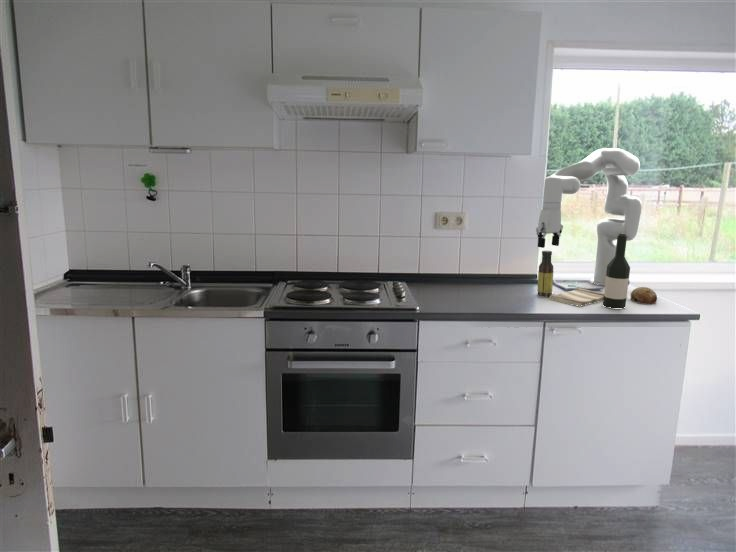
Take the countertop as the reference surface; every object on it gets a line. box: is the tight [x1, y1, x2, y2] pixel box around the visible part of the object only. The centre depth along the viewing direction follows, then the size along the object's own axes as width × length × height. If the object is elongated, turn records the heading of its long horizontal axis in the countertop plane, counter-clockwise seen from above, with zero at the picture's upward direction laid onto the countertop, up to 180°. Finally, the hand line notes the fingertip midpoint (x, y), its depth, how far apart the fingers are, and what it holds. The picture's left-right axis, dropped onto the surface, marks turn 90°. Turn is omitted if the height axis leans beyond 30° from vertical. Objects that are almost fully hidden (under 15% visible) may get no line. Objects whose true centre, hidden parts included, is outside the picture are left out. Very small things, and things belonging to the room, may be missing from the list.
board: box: [549, 287, 604, 307], centre depth 217 cm, size 22×14×2 cm, turn 125°
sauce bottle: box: [537, 250, 554, 298], centre depth 221 cm, size 6×6×20 cm
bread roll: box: [630, 286, 658, 305], centre depth 215 cm, size 10×10×8 cm
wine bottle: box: [602, 233, 631, 309], centre depth 203 cm, size 8×8×30 cm
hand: (548, 246), depth 218 cm, fingers open, 9 cm apart
